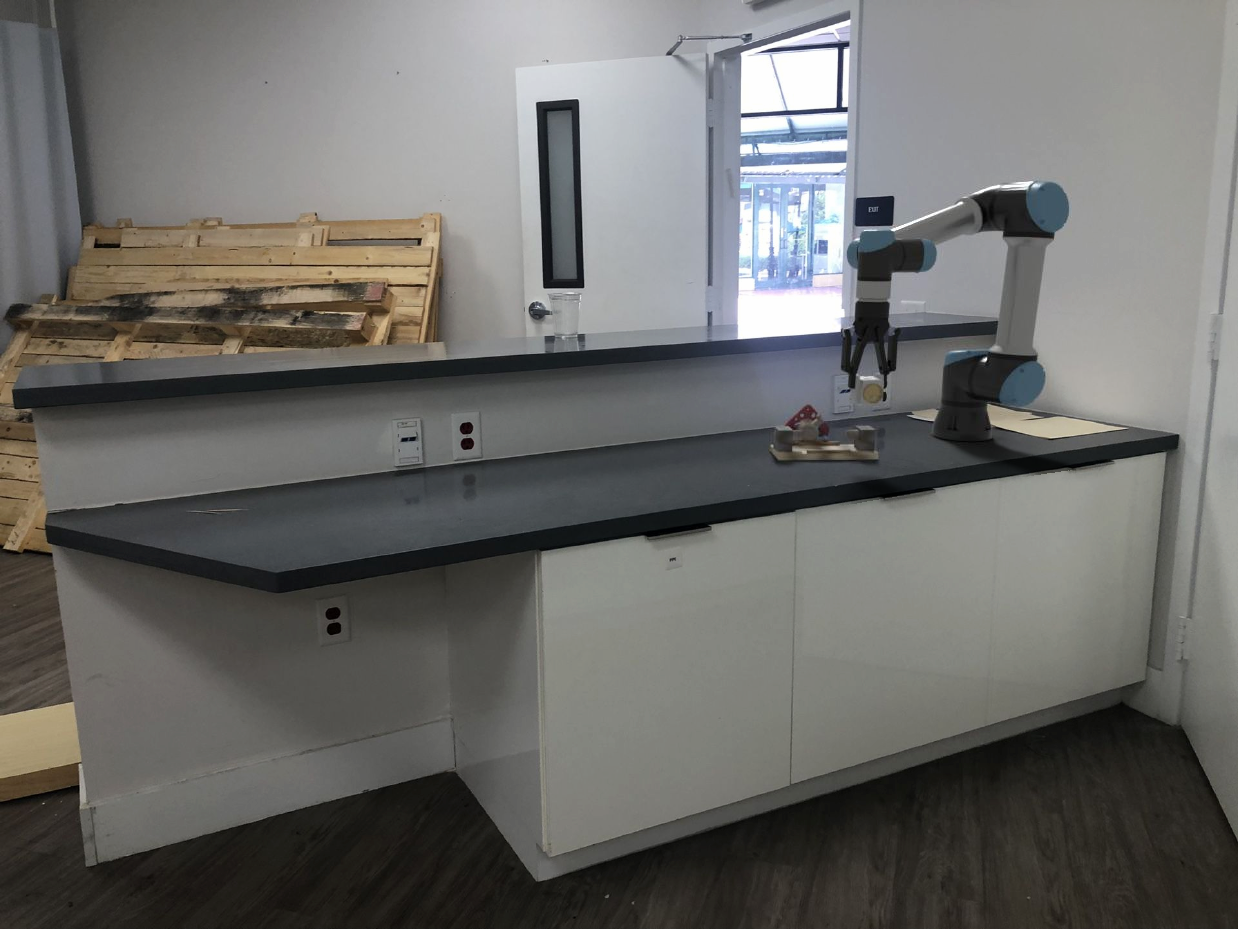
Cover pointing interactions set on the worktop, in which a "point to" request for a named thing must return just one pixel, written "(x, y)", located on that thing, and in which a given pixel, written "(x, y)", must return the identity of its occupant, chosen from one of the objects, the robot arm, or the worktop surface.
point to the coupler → (870, 391)
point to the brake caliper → (810, 425)
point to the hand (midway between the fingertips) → (866, 402)
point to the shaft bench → (824, 445)
